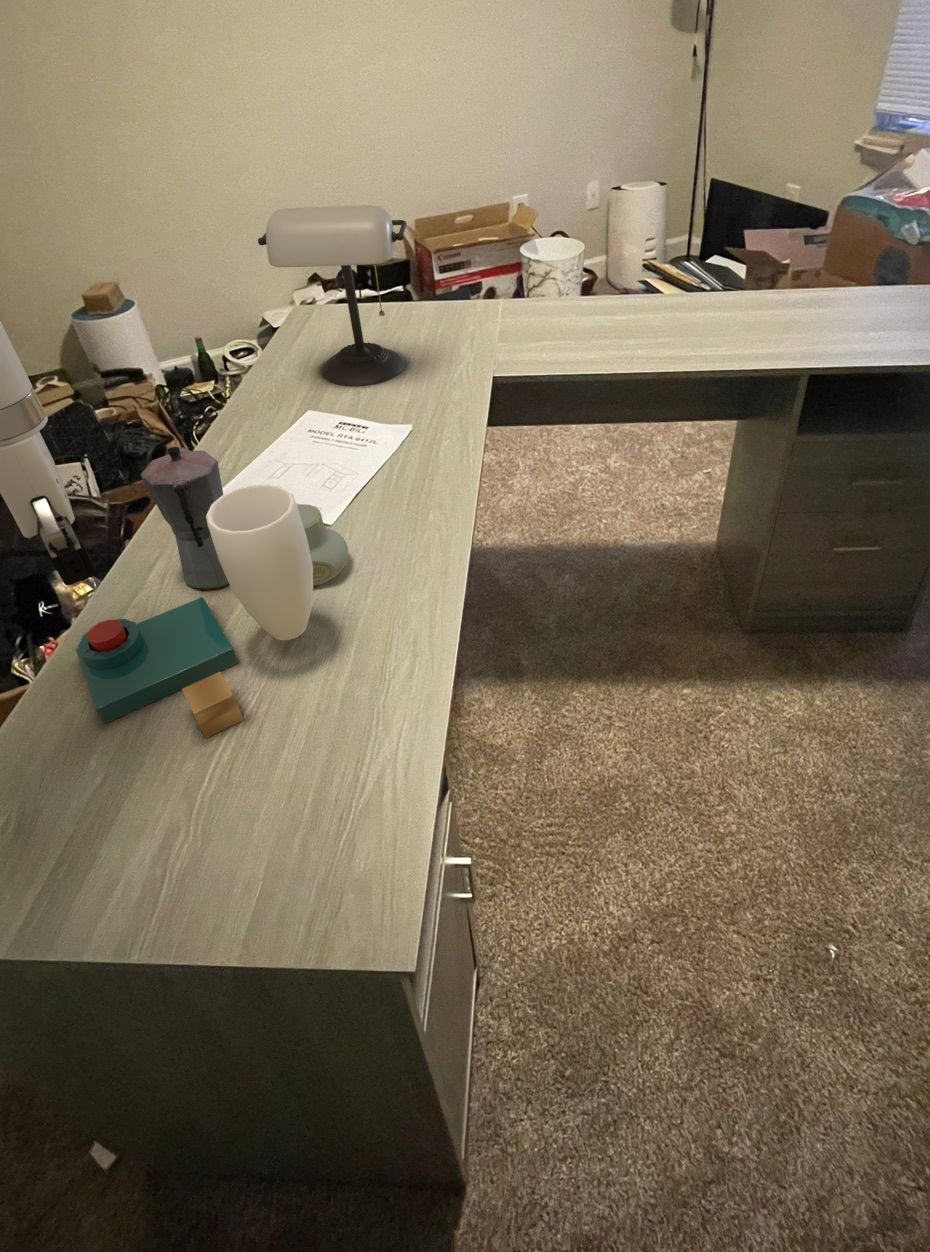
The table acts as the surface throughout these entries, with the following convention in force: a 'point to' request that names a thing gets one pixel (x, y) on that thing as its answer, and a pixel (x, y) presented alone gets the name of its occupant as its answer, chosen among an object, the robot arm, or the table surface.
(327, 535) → the air freshener
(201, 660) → the button base
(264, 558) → the cup
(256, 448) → the table surface
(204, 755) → the table surface
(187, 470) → the moka pot
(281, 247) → the lamp
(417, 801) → the table surface
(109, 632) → the red button
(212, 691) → the block
